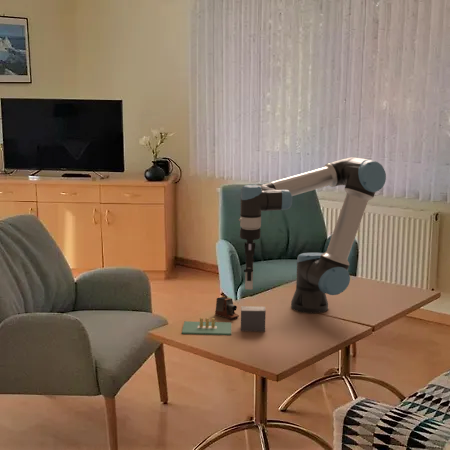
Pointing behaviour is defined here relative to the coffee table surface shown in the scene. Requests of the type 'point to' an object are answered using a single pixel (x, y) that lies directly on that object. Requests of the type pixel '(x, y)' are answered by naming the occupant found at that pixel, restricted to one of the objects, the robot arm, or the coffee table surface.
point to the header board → (207, 327)
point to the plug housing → (253, 318)
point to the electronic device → (226, 308)
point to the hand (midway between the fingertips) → (249, 283)
